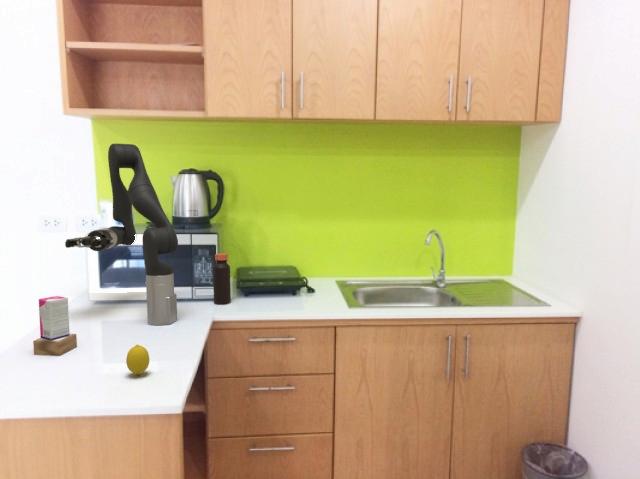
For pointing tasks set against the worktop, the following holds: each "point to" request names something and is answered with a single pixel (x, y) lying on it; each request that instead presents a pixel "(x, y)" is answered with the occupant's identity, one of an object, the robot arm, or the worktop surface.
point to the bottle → (221, 280)
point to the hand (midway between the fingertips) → (79, 244)
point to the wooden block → (55, 345)
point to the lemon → (137, 359)
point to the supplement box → (54, 317)
